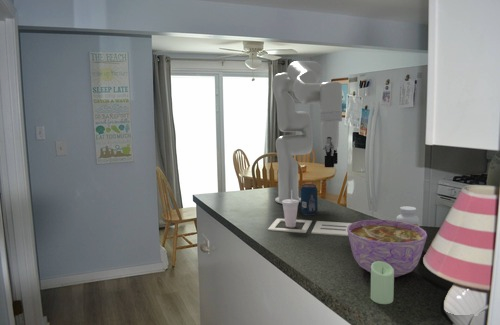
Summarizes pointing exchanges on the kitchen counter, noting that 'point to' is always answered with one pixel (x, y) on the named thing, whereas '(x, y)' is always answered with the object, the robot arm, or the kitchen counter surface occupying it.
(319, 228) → the pads
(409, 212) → the supplement bottle
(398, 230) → the bowl of food
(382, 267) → the candle
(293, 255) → the kitchen counter surface
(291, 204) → the smoothie
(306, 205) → the soda can
